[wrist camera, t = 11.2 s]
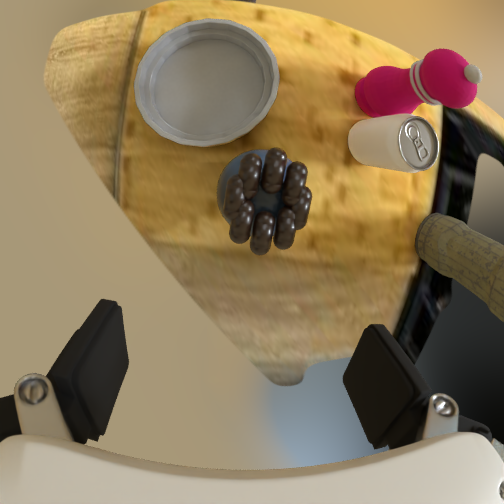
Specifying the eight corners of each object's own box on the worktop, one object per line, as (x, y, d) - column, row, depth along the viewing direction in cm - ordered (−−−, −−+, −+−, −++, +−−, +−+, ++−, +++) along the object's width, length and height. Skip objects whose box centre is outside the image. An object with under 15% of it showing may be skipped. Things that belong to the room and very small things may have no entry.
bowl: (160, 31, 25) (152, 18, 21) (281, 43, 27) (288, 29, 23) (136, 141, 30) (123, 140, 26) (261, 155, 32) (265, 155, 28)
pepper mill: (397, 85, 29) (499, 63, 11) (391, 128, 32) (501, 128, 13) (354, 66, 28) (449, 18, 10) (347, 111, 31) (451, 87, 12)
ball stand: (225, 145, 32) (222, 140, 21) (296, 157, 33) (326, 160, 22) (215, 214, 35) (207, 243, 24) (283, 224, 36) (305, 256, 25)
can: (371, 112, 31) (424, 102, 20) (393, 151, 33) (448, 156, 22) (337, 134, 32) (384, 129, 21) (361, 174, 34) (413, 186, 23)
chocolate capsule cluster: (233, 140, 21) (233, 139, 20) (316, 156, 22) (323, 157, 20) (218, 245, 24) (216, 252, 23) (295, 255, 25) (299, 263, 24)
